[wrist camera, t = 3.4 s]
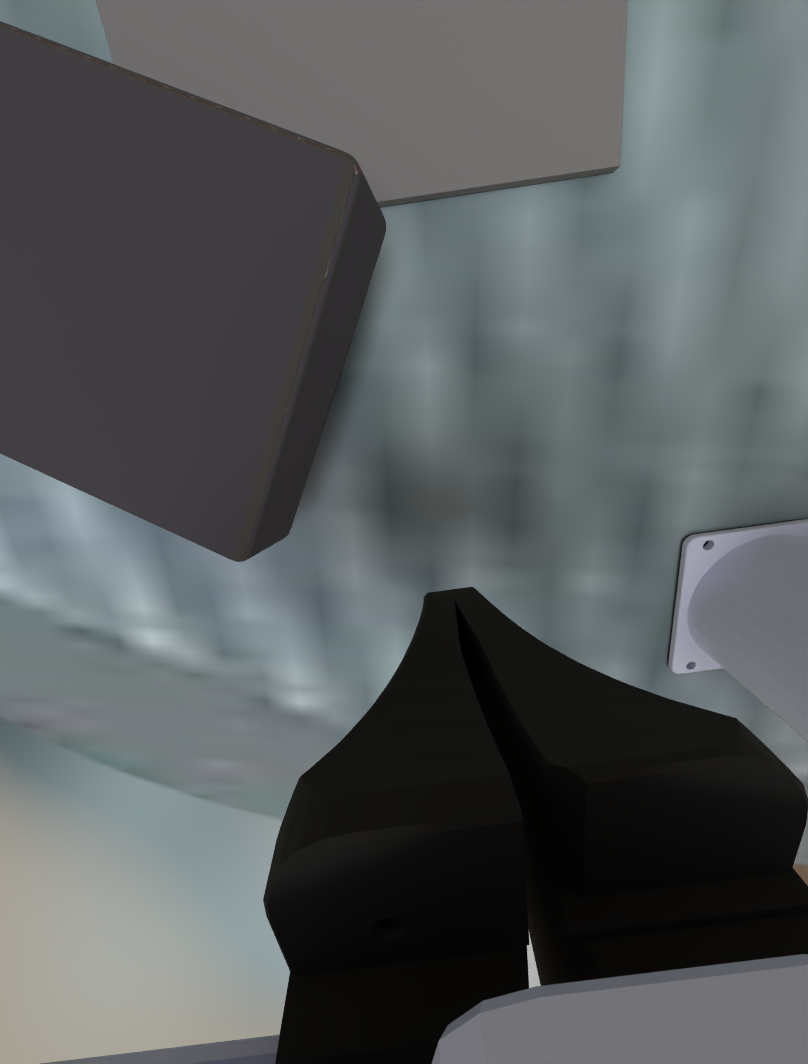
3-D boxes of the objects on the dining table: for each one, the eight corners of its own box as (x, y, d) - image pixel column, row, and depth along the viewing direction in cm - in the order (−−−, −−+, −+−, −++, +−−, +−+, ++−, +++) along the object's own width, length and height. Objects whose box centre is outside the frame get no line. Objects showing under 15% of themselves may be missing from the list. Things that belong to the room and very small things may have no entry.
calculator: (397, 228, 13) (-9, 71, 14) (357, 137, 9) (-215, -77, 10) (296, 537, 16) (-25, 392, 17) (233, 575, 12) (-184, 382, 13)
